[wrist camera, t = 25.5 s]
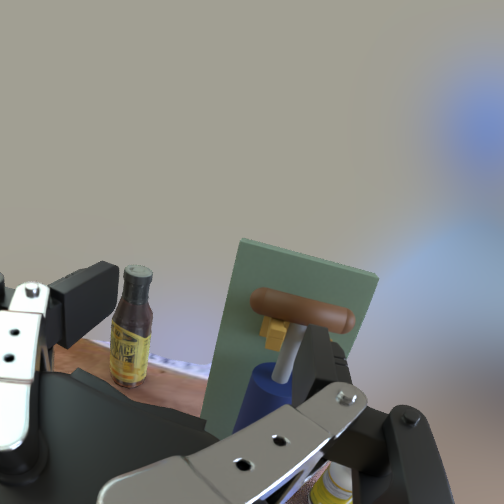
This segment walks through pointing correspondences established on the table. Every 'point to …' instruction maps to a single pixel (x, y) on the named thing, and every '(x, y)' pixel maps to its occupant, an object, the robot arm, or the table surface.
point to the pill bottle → (332, 486)
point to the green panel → (272, 319)
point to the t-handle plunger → (285, 348)
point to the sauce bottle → (131, 329)
